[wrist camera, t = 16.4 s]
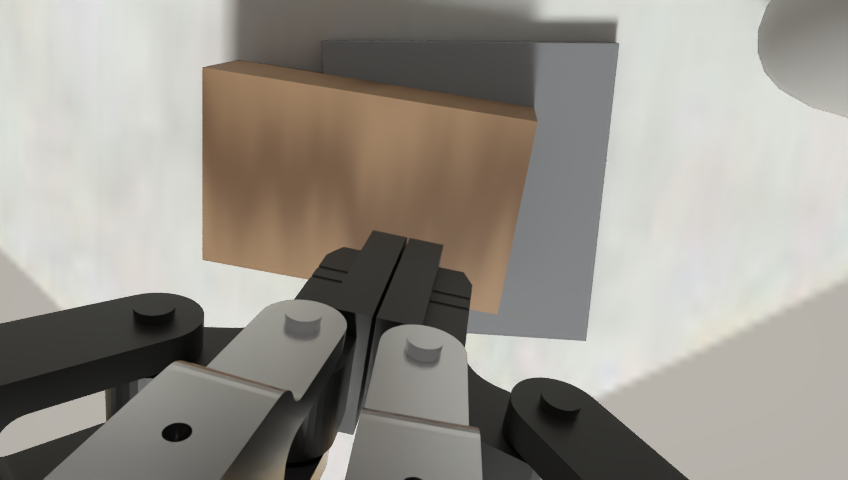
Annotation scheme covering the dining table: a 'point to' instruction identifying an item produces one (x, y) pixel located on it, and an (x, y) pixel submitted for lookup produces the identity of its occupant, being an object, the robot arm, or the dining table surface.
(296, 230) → the walnut slab
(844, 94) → the donut
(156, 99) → the dining table surface
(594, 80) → the rubber mat
